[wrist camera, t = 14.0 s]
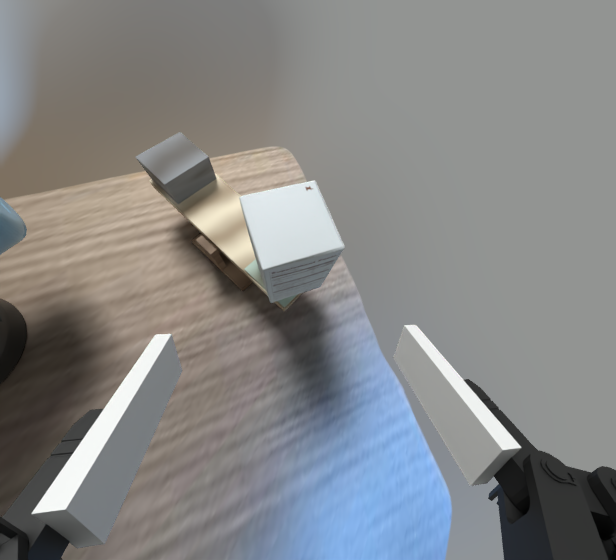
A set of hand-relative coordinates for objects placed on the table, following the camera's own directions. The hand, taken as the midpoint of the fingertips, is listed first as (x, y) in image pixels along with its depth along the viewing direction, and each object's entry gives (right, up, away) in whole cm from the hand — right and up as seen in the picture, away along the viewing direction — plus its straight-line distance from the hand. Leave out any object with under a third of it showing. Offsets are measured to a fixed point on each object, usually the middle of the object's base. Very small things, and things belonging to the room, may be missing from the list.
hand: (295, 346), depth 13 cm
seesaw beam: (-10, +12, +21) cm, 26 cm away
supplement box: (-2, +5, +18) cm, 18 cm away
